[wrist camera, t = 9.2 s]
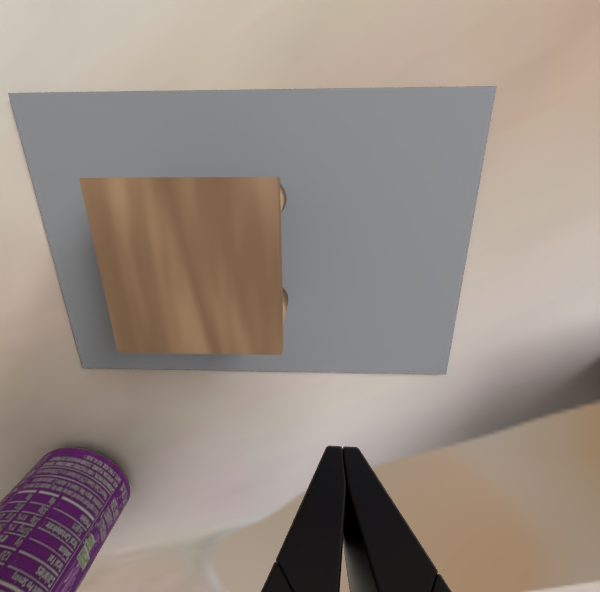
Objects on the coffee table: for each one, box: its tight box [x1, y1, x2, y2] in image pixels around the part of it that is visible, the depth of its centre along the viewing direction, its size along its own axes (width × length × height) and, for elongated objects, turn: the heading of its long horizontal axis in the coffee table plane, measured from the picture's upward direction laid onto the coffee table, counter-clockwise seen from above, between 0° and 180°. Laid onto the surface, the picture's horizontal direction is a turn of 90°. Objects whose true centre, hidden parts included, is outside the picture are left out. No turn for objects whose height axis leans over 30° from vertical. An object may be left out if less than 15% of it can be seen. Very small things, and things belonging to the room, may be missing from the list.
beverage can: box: [0, 447, 130, 592], centre depth 20 cm, size 7×7×12 cm
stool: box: [79, 177, 288, 355], centre depth 17 cm, size 5×8×8 cm
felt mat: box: [8, 86, 496, 374], centre depth 19 cm, size 24×16×1 cm, turn 90°
